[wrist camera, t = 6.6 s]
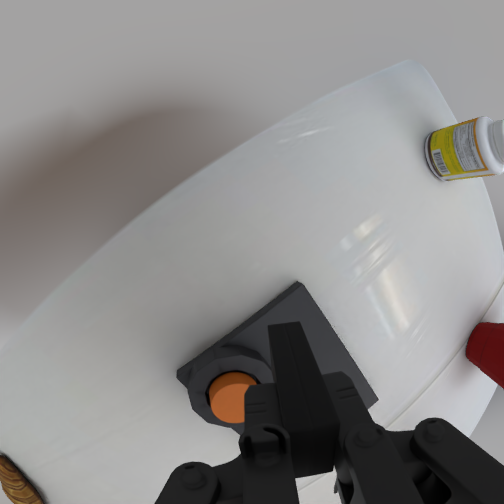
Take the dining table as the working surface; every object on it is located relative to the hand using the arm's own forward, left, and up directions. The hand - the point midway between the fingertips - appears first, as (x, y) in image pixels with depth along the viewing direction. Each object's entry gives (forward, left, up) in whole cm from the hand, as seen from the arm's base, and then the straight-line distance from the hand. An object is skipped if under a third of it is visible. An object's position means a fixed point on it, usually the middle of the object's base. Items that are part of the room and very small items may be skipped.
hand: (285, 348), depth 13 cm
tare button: (+4, -5, -6) cm, 9 cm away
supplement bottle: (+1, +25, -9) cm, 27 cm away
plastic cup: (+27, +21, -9) cm, 35 cm away
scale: (+9, -2, -9) cm, 13 cm away
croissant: (+4, -42, -9) cm, 43 cm away
